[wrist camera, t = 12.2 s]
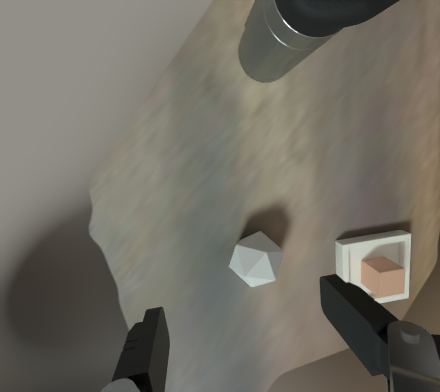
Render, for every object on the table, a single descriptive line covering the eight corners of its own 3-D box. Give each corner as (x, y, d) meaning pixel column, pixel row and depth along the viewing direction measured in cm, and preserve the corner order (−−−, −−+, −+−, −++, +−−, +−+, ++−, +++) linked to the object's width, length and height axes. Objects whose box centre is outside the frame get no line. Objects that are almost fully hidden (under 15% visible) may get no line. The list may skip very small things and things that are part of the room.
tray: (335, 240, 48) (342, 245, 46) (400, 229, 49) (410, 233, 47) (336, 302, 51) (343, 310, 49) (398, 291, 52) (408, 297, 50)
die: (221, 265, 48) (254, 307, 41) (218, 235, 42) (256, 279, 35) (255, 244, 51) (290, 281, 44) (257, 214, 45) (298, 251, 38)
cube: (360, 260, 48) (379, 272, 44) (384, 256, 49) (405, 268, 44) (360, 282, 50) (379, 297, 45) (383, 278, 50) (404, 293, 45)
